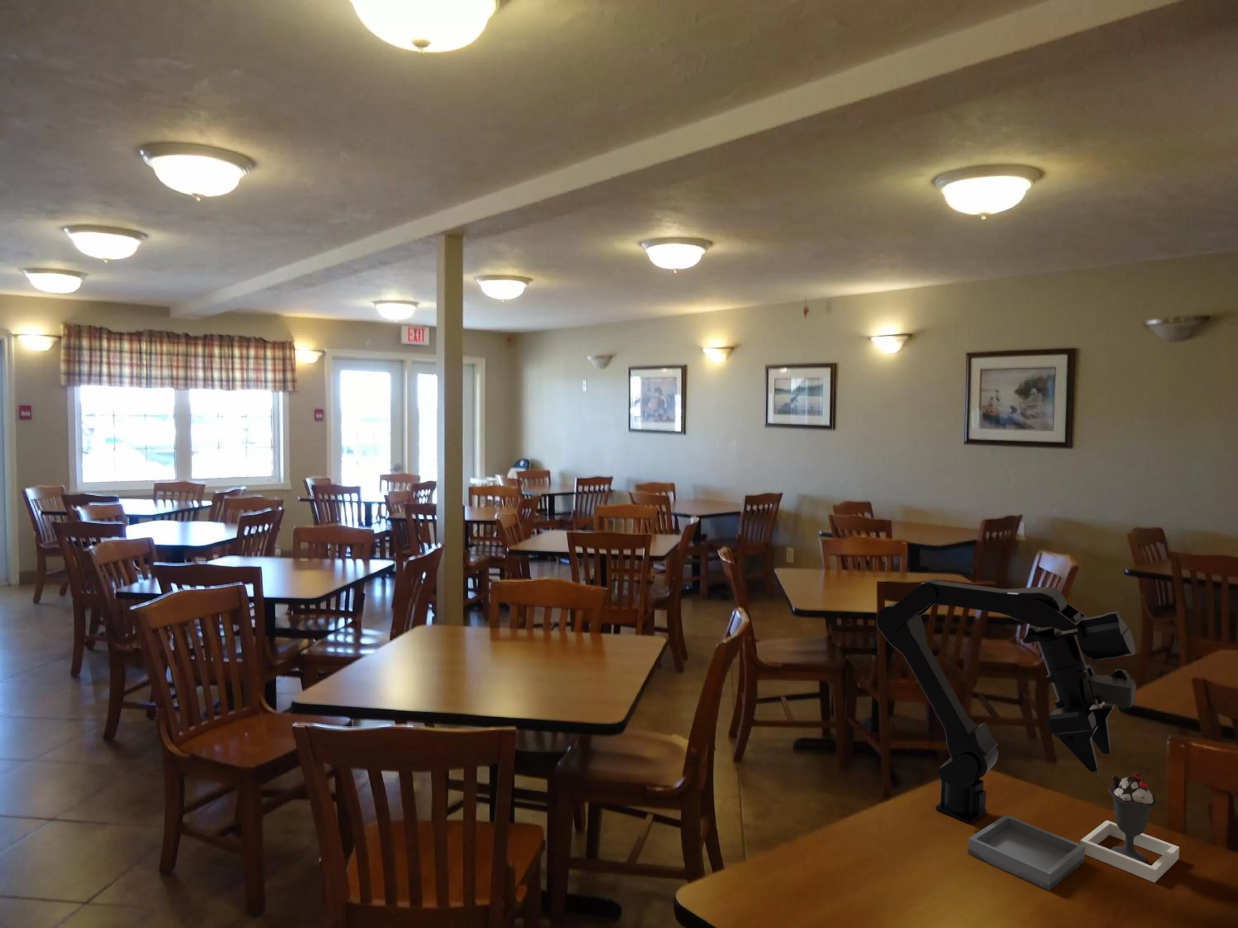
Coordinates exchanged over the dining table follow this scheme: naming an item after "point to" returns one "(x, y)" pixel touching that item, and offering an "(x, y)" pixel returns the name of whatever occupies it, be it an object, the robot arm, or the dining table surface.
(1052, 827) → the dining table surface
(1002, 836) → the tray
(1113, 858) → the white square frame
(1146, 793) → the sundae
